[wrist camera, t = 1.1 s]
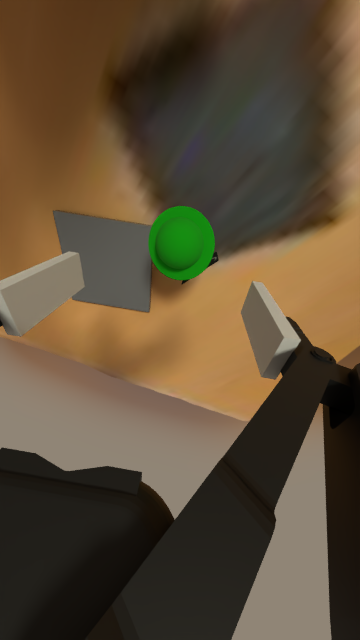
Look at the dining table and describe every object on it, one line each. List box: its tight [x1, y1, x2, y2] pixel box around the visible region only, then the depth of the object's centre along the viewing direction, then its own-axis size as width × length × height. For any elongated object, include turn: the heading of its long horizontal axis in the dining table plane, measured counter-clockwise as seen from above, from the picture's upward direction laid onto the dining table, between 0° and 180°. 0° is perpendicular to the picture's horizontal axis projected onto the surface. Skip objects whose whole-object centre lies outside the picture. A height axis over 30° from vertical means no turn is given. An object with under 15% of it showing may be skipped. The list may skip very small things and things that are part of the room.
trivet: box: [53, 210, 152, 312], centre depth 39 cm, size 18×18×1 cm
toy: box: [148, 206, 219, 284], centre depth 28 cm, size 9×9×15 cm
